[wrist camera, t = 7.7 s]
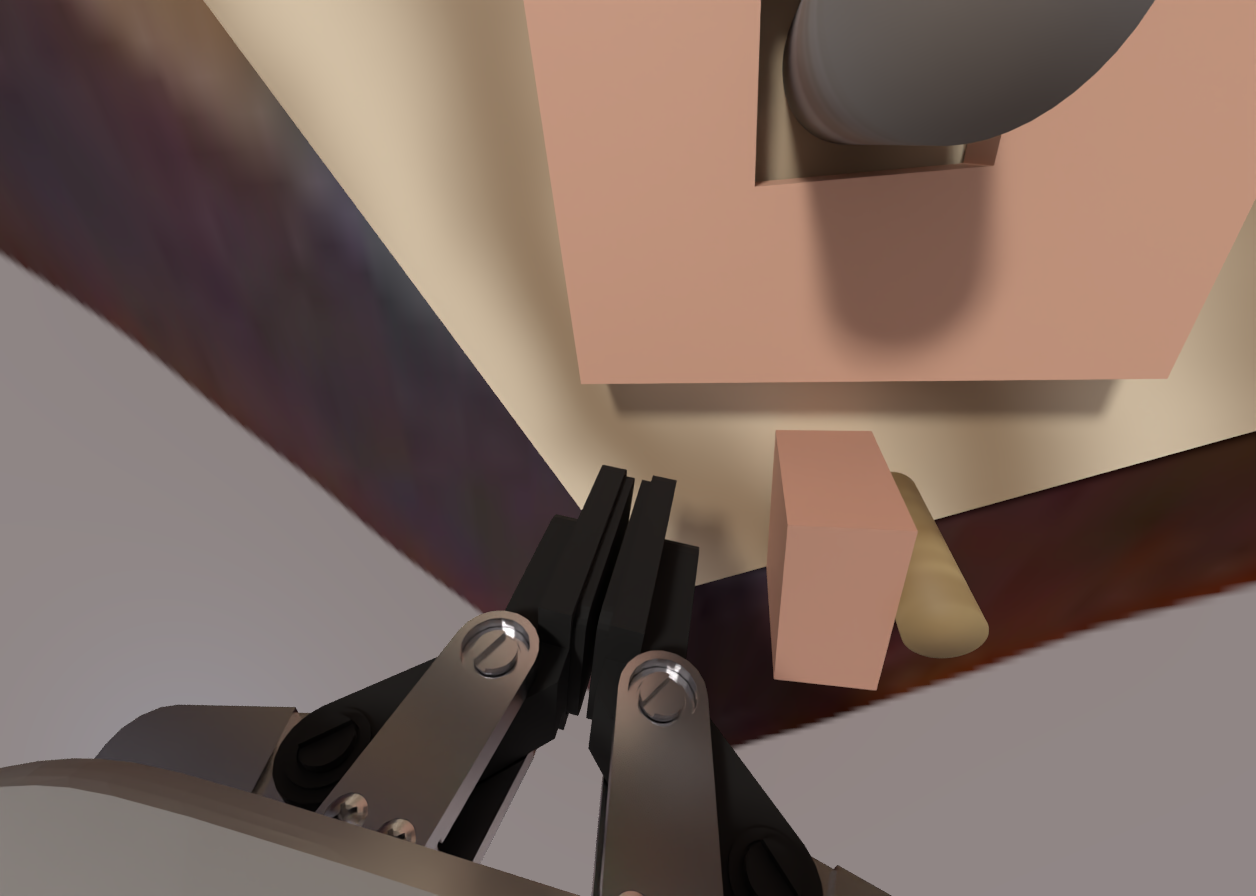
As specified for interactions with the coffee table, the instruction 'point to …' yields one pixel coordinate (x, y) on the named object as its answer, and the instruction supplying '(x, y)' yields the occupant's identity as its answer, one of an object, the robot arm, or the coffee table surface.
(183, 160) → the coffee table surface
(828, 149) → the post board
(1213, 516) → the coffee table surface
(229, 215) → the coffee table surface
